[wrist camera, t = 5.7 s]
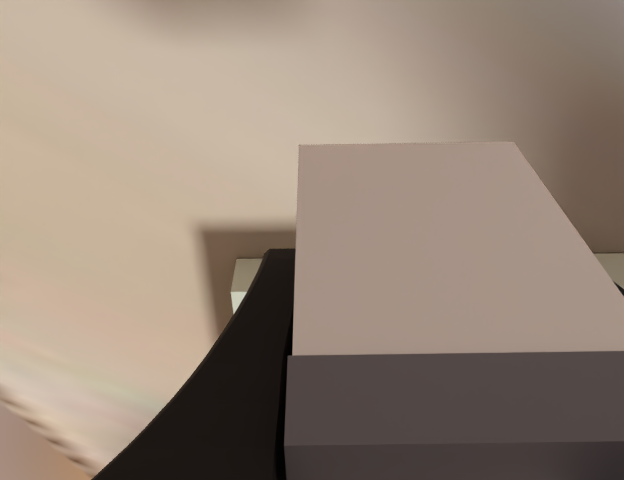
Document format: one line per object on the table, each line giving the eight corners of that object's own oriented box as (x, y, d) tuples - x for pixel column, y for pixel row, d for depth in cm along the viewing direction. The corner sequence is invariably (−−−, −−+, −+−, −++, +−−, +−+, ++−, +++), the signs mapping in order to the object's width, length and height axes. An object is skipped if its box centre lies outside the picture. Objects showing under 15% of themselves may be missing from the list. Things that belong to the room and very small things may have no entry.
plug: (516, 139, 11) (734, 439, 5) (480, 304, 14) (602, 624, 8) (296, 142, 11) (284, 445, 5) (301, 306, 14) (297, 627, 8)
